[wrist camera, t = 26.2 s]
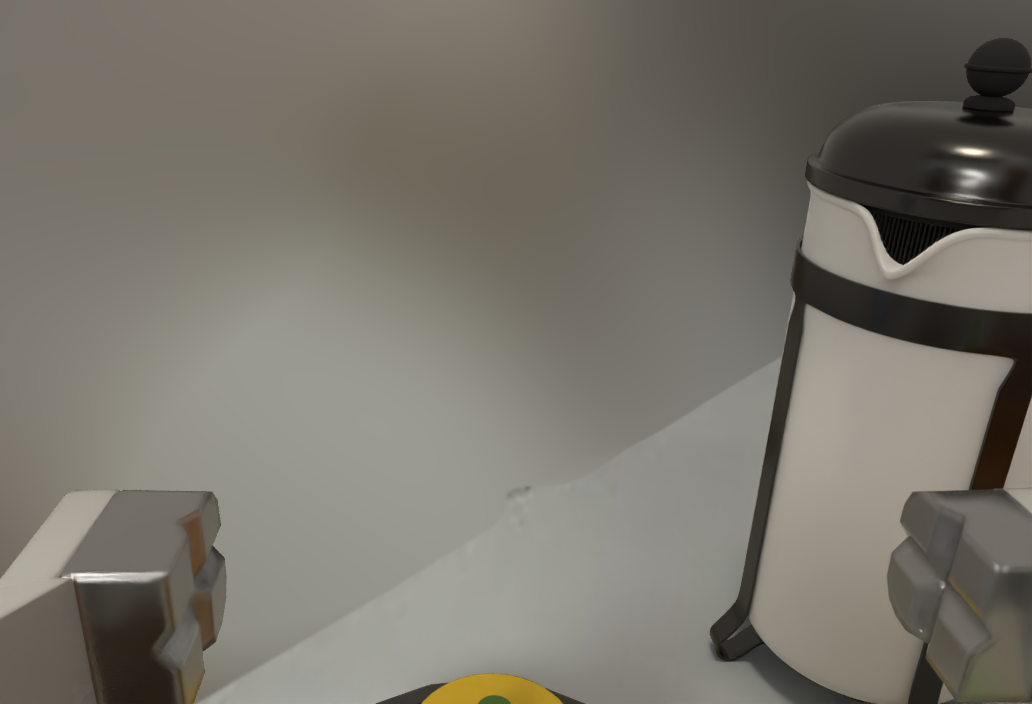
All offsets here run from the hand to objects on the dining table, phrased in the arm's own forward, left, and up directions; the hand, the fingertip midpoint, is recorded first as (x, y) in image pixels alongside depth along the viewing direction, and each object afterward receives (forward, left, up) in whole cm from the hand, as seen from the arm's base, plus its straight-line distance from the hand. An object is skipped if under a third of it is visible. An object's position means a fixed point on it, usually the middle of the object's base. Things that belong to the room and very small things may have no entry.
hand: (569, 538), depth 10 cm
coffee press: (+14, +30, -25) cm, 42 cm away
